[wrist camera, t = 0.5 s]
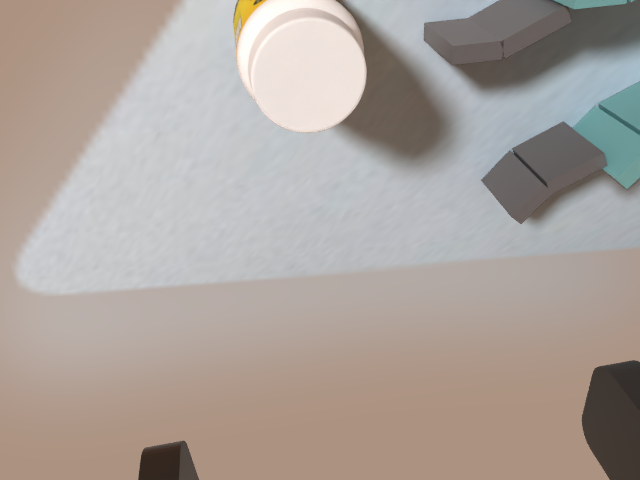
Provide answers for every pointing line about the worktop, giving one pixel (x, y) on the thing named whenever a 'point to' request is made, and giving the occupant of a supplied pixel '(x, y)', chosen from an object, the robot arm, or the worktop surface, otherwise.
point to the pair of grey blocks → (544, 149)
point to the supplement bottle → (300, 60)
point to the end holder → (614, 120)
